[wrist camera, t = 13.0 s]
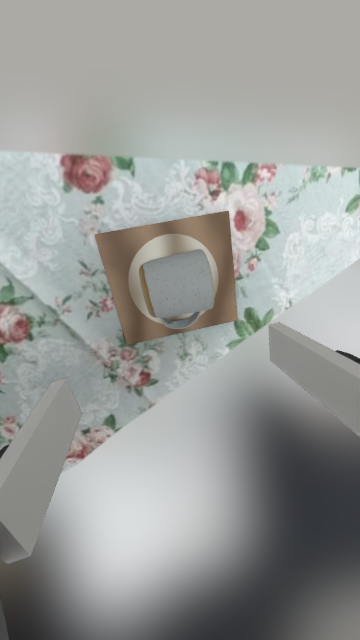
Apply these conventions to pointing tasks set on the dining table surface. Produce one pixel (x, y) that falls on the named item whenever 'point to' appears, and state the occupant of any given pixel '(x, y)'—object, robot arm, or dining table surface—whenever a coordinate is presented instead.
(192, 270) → the ceramic mug
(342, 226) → the dining table surface
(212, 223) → the board
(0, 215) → the dining table surface
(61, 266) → the dining table surface
